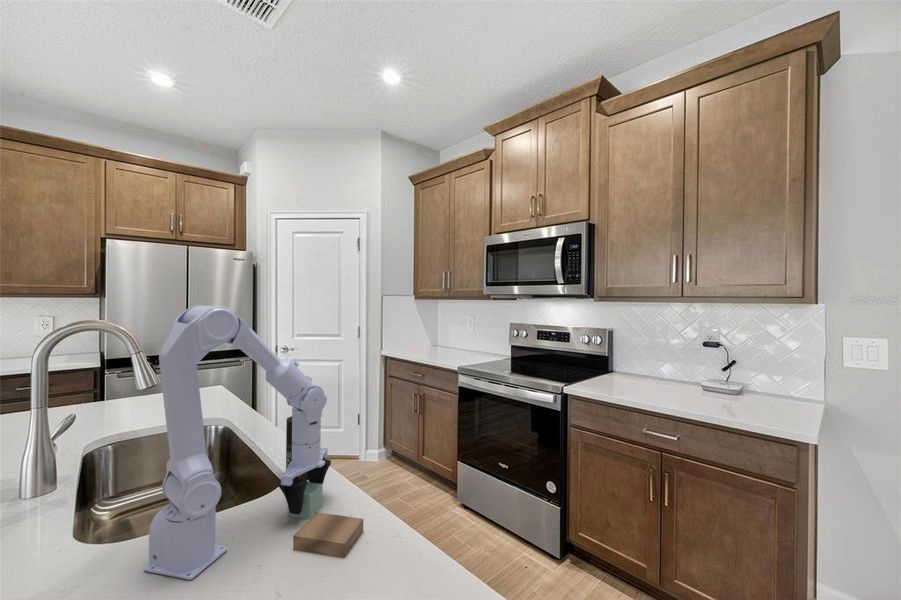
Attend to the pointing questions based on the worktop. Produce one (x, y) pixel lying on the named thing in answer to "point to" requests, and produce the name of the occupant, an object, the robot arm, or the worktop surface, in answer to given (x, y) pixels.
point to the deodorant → (289, 448)
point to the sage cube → (310, 501)
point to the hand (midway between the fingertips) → (305, 503)
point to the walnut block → (328, 534)
